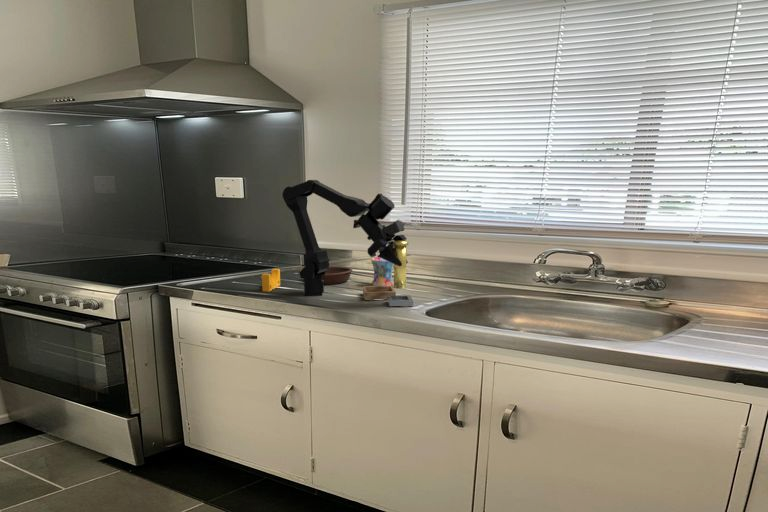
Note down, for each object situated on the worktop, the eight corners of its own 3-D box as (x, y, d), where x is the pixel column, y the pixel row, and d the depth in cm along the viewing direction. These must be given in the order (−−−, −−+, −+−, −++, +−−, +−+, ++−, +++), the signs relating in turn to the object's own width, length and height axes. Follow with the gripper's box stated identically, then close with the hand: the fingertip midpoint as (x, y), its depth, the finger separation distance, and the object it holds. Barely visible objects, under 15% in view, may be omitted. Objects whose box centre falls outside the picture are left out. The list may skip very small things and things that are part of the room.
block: (389, 307, 165) (389, 301, 165) (387, 301, 173) (387, 295, 173) (413, 306, 166) (413, 300, 166) (409, 301, 174) (409, 295, 173)
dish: (364, 280, 211) (364, 268, 211) (328, 289, 194) (327, 276, 193) (333, 275, 222) (332, 263, 221) (295, 283, 204) (295, 271, 203)
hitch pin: (393, 288, 166) (393, 242, 164) (391, 285, 171) (391, 240, 169) (409, 288, 166) (409, 242, 164) (406, 285, 171) (407, 240, 169)
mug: (384, 289, 191) (384, 261, 190) (365, 286, 197) (365, 259, 196) (404, 284, 201) (404, 257, 199) (385, 281, 206) (385, 255, 205)
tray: (364, 300, 174) (364, 292, 174) (363, 293, 184) (363, 286, 184) (395, 300, 175) (395, 291, 175) (392, 293, 185) (392, 285, 185)
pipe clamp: (269, 285, 201) (269, 268, 200) (280, 285, 201) (279, 269, 200) (257, 291, 190) (257, 274, 189) (269, 291, 189) (268, 274, 188)
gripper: (376, 214, 159) (408, 251, 155) (401, 210, 175) (431, 244, 172) (354, 238, 163) (385, 275, 160) (380, 232, 180) (409, 266, 176)
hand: (404, 264), depth 167 cm, fingers closed on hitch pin, 4 cm apart
